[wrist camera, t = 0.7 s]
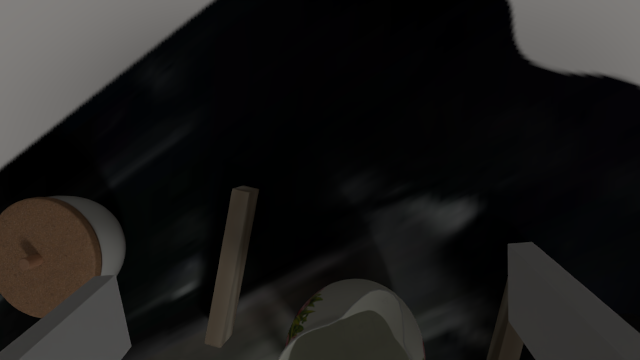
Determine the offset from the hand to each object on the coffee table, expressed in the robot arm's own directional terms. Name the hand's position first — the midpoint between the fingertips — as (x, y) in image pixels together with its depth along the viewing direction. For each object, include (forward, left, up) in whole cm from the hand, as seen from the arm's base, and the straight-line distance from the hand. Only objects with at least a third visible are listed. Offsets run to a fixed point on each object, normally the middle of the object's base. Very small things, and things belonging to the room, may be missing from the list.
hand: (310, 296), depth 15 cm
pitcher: (-2, +12, -27) cm, 30 cm away
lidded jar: (+26, +10, -27) cm, 39 cm away
